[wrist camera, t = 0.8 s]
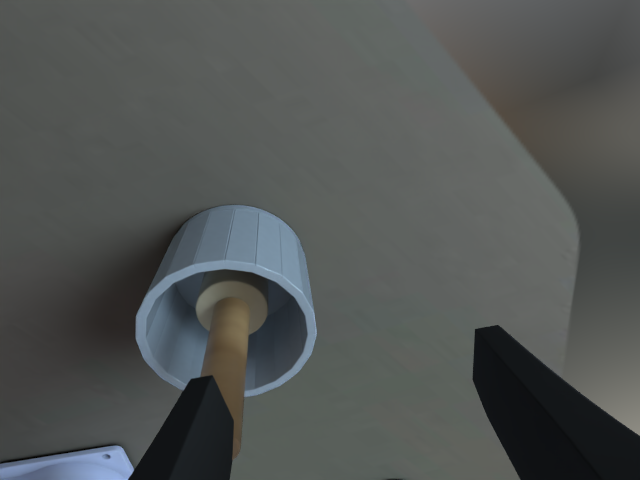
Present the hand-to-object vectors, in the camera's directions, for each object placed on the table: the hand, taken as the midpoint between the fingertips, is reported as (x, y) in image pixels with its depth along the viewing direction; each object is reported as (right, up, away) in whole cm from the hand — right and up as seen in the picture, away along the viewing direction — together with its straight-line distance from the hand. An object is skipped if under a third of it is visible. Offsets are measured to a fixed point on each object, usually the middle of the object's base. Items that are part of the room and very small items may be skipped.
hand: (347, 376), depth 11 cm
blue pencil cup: (-5, +2, +10) cm, 12 cm away
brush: (-5, +2, +10) cm, 12 cm away
